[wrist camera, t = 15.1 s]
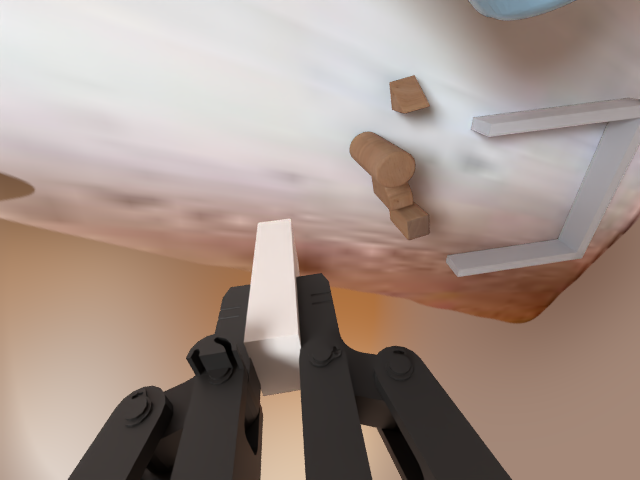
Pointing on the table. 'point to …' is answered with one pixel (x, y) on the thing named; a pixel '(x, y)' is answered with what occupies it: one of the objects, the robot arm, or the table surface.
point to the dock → (595, 191)
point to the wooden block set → (395, 163)
